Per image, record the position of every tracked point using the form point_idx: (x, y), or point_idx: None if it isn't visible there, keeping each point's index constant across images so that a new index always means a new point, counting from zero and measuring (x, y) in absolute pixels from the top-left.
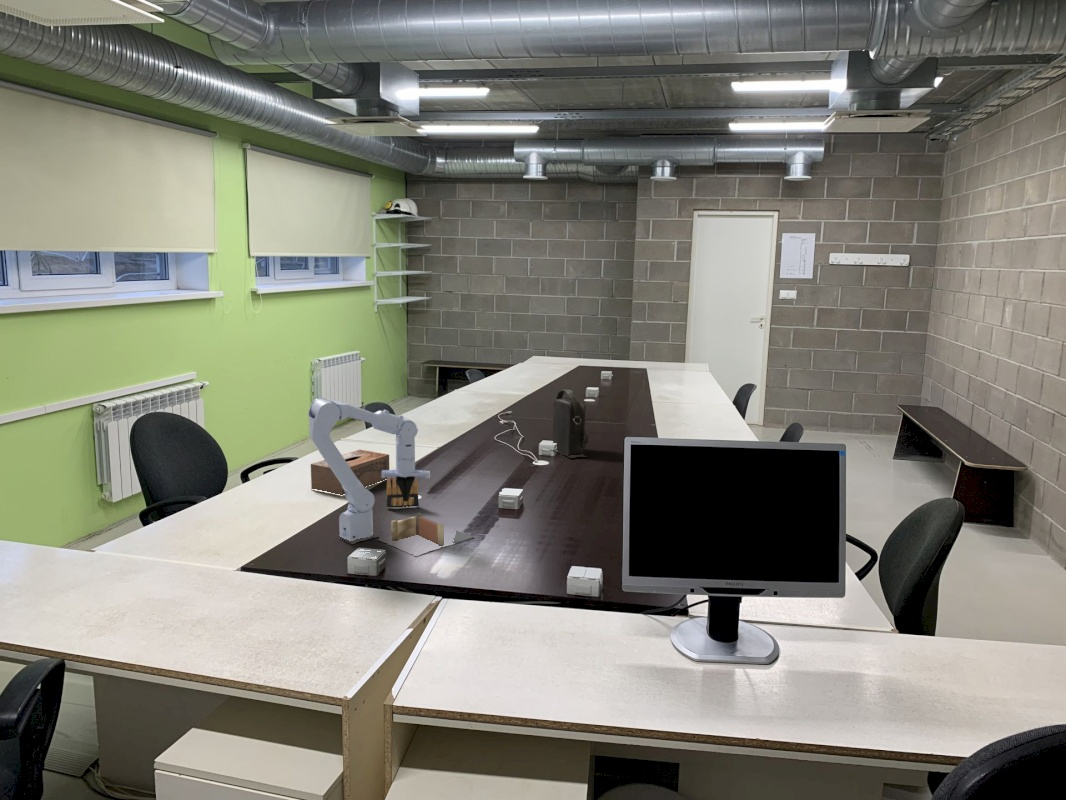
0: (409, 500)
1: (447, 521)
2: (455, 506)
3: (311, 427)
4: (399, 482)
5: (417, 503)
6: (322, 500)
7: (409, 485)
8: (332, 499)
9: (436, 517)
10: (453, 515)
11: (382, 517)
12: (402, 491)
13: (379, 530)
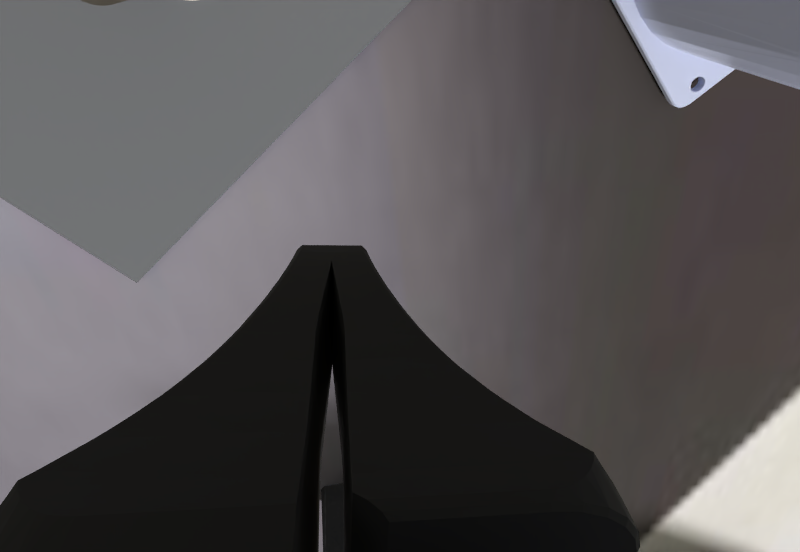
0: None
1: (56, 316)
2: None
3: None
4: (512, 470)
5: (328, 512)
6: (775, 518)
7: (176, 419)
8: (730, 530)
9: (169, 377)
10: (64, 413)
11: (520, 359)
12: (387, 323)
13: (552, 118)
